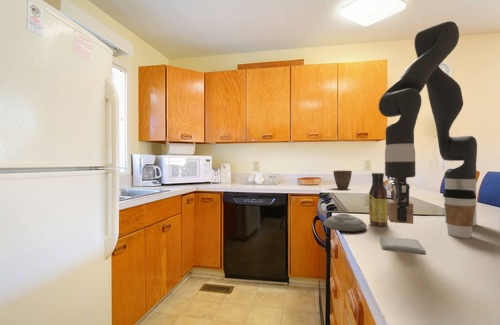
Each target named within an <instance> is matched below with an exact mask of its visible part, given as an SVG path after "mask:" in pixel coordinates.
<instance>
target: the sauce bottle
mask: <svg viewBox="0 0 500 325" xmlns="http://www.w3.org/2000/svg"><path fill="white" fill-rule="evenodd" d="M371 177H372V179H371V180H372V182H371V183H372V184H371V187H370V190H369V192H368V210H369V211H368V212H369V224H371V225H372V226H376V227H386V226H387V225H388V221H389V219H388V191H387V188H386V187H385V185H384V184H385V183H384V177H385V172H372V173H371Z"/></svg>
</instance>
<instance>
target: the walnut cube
mask: <svg viewBox="0 0 500 325" xmlns="http://www.w3.org/2000/svg"><path fill="white" fill-rule="evenodd" d="M400 202H405V201H404V200H403V201H401V200H400ZM387 203H388V221H389V222H390V223H394V224H395V223H398V224H406V225H407V224H410V225H411V224H412V225H414V203H413V202H411V201H410V200H409V207H408V208H407V221H406V222H399V221H398V220H397V206H396V205H397V201H396V200H392V199H387Z"/></svg>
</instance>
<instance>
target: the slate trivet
mask: <svg viewBox="0 0 500 325" xmlns="http://www.w3.org/2000/svg"><path fill="white" fill-rule="evenodd" d="M379 240H380V246H381V249H382V250H388V251H389V250H390V251H395V252H396V251H397V252H406V253H413V254H415V253H416V254H425V255H426V250H425V248H424V247H423V245H422V244H421V242H420V241H419V240H418V239H414V238H404V237H403V238H402V237H394V236H392V237H391V236H381V235H380V236H379Z"/></svg>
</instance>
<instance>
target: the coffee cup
mask: <svg viewBox="0 0 500 325" xmlns="http://www.w3.org/2000/svg"><path fill="white" fill-rule="evenodd" d="M442 197H444V204H443V205H444V211H445V213H446V221H447V222H446V228H447V235H448V236H451V237H455V238H460V239H463V238H464V239H470V238H472V236H473V227H474V226H473V220H474V211H475V205H474V203H475V199H476V200H477V194H476V195H475V191H472V190H462V189H445V188H444V191H443V193H442Z"/></svg>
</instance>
